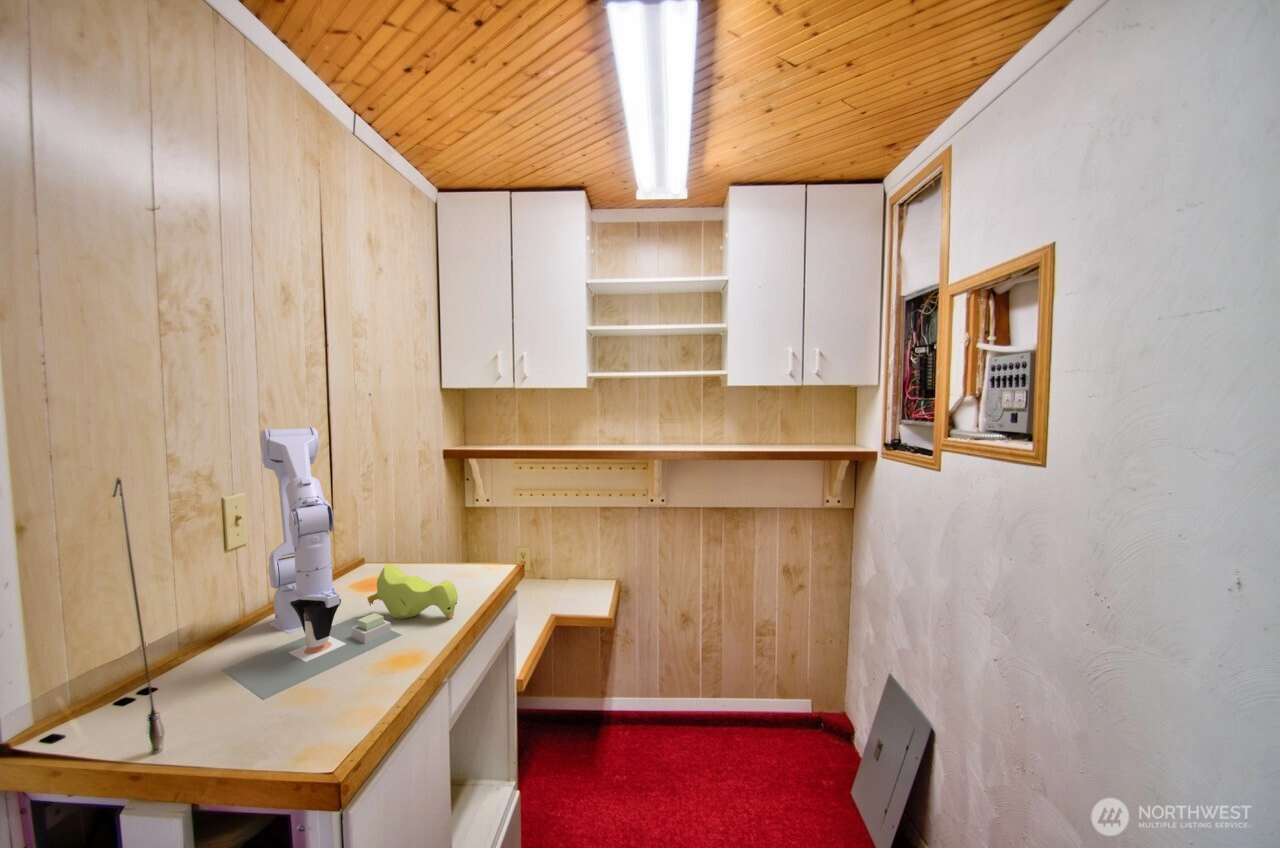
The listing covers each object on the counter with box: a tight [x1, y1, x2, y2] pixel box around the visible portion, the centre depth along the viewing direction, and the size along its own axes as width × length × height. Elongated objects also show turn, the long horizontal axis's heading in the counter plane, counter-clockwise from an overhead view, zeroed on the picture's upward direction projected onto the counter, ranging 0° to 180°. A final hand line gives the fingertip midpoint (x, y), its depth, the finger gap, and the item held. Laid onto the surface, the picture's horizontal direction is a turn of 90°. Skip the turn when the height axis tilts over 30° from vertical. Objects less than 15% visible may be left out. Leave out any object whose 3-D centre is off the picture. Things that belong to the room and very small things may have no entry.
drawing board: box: [221, 616, 403, 701], centre depth 85 cm, size 18×23×2 cm
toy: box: [367, 563, 459, 619], centre depth 99 cm, size 6×17×20 cm
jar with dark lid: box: [304, 611, 329, 648], centre depth 85 cm, size 4×4×7 cm
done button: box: [358, 612, 385, 631], centre depth 90 cm, size 3×3×2 cm
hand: (317, 635), depth 85 cm, fingers closed on jar with dark lid, 4 cm apart
